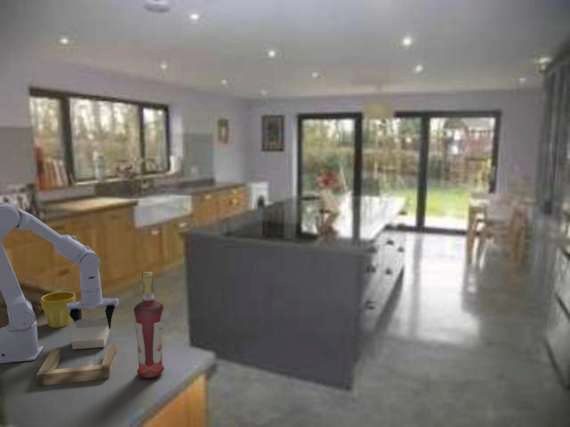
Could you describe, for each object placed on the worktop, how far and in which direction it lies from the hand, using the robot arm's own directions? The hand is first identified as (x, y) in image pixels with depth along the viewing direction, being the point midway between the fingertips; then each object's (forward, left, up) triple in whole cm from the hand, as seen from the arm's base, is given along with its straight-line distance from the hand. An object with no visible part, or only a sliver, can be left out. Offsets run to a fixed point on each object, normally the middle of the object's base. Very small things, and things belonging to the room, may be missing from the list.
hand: (95, 329), depth 135 cm
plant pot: (-14, +14, -3) cm, 20 cm away
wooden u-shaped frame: (-1, -19, -3) cm, 19 cm away
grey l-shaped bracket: (0, -4, -2) cm, 4 cm away
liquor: (+18, -26, -3) cm, 32 cm away
